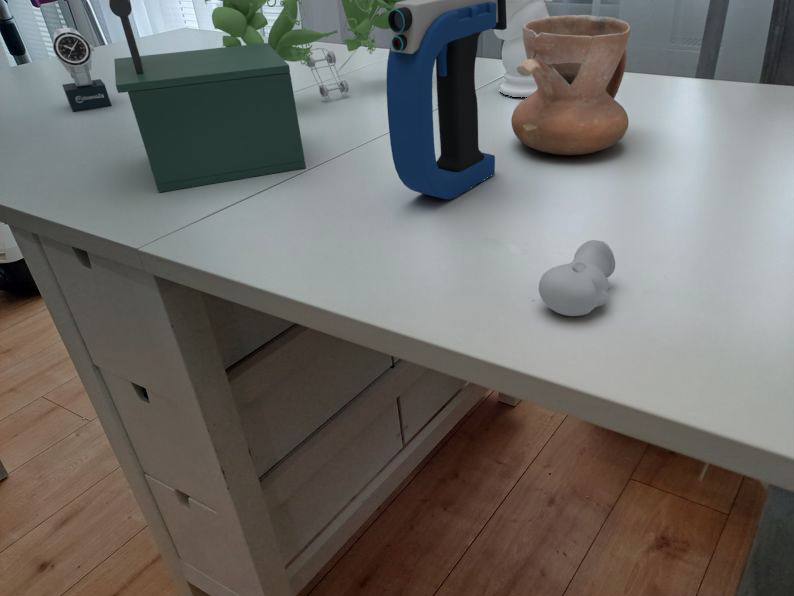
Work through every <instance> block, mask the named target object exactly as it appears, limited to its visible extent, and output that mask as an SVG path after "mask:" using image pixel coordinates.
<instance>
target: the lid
mask: <svg viewBox="0 0 794 596" xmlns="http://www.w3.org/2000/svg"><path fill="white" fill-rule="evenodd" d="M108 6H109V9H110V11H111V13H112V14H114V15H115V16H116V17H119V19H120V21H121V25H122V29H123V32H124V35H125V40H126V43H127V46H128V50H129V52H130V56H128V57H117V58H114V59H113V60H114V78H115V79H114V80H115V81H114V82H115V87H116V91H117V93H118V94H122V93H128V92H131V91H139V90H147V89H156V88H164V87H173V86H181V85H189V84H198V83H206V82H215V81H223V80H231V79H240V78H248V77H256V76H265V75H273V74H282V73H290V74H291V69H290V64H289V63H287V61H285V60H283V59H282V58H281V57H280V56H279V55H278V54H277V53H276V52H275V51H274V50H273V49H272V48H271V47H270V46H269V45H268V42H264V43H261V44H252V45H246V44H243V45H242V46H232V47H225V46H223V47H214V48H204V49H195V50H185V51H177V52H176V51H174V52H167V53H166V52H165V53H157V54H146V55H140V52H139V48H138V45H137V41H136V39H135V35H134V31H133V28H132V24H131V20H130V18H129V16H130V15H131V13H132V2H131V0H109V1H108Z"/></svg>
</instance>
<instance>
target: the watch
mask: <svg viewBox="0 0 794 596" xmlns="http://www.w3.org/2000/svg"><path fill="white" fill-rule="evenodd" d="M54 30H55V31H54V32H53V41H52V50H53V54H54V55H55V56H56V58H57V60H58V61H59V62H60V63H61V64H62V66H63V67H64V68H65V70H66V71H67V72H68V74H69V75H70V77H71V79H73V82H70V83H64V84H62V88H63V91H64V94H65V96H66V99H67V102H68V105H69V107H70V109H71V110H72V113H74V112H80V111H81V112H82V111H86V110H94V109H99V108H106V107H111V106H112V102H111V99H110V96H109V93H108V90H107V86H106V85H105V83H104V81H102V79H100V78H99V79H92V75H91V73H90V71H92V53H93V52H95V48H94V46H93V45H91V44H90V43H89V42H88V40H87V39H86V38H85V37H84V36H82V34H81V33H80V32H79V30H77V29H74V27H63V28H55V29H54Z"/></svg>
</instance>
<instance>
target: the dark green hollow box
mask: <svg viewBox="0 0 794 596" xmlns="http://www.w3.org/2000/svg"><path fill="white" fill-rule="evenodd" d="M127 95H128V98H129V101H130V104H131V107H132V111H133V114H134V118H135V120H136V124H137V128H138V130H139V132H140V137H141V140H142V143H143V146H144V150H145V153H146V156H147V159H148V162H149V166H150V169H151V172H152V176H153V178H154V182H155V186H156V188H157V192H158V193H164V192H171V191H176V190H182V189H183V190H184V189H188V188H194V187H200V186H201V187H202V186H207V185H211V184H219V183H225V182H230V181H237V180H242V179H243V180H244V179H249V178H255V177H260V176H261V177H262V176H266V175H272V174H279V173H284V172H290V171H295V170H303V169H306V168H307V166H306V161H305V153H304V147H303V143H302V142H303V141H302V135H301V129H300V123H299V118H298V112H297V106H296V101H295V94H294V86H293V81H292V76H291V72H290V73H282V74H273V75H265V76H256V77H248V78H240V79H231V80H223V81H215V82H206V83H198V84H189V85H181V86H173V87H164V88H156V89H147V90H139V91H131V92H127Z"/></svg>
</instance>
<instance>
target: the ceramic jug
mask: <svg viewBox="0 0 794 596" xmlns="http://www.w3.org/2000/svg"><path fill="white" fill-rule="evenodd" d="M549 16H550V17H546V18H545V17H544V18H538V19H534V20H531V21H529V22H526V23H525V24H524V25H523V41H524V47H525V51H526V56H527V60H525V61H523V62H522V63H521V64H519V65H518V67H517V71H518V73H519V74H520V75H521V76H529V75H531V74H532V75H533V77H534V80H535V82H536V84H537V90H536V91H535V92H534V93H533V94H531V95H530V96H529V97H527V98H523V99H522V101H520V102H519V103H518V104H517V106H515V108H514V110H513V112H512V115H511V119H510V120H511V123H510V124H511V128H512V132H513V133H514V135H515V136H516V139H518V141H520V142H521V143H522V144H524V145H526V146H527V147H529V148H531V149H533V150H536V151H539V152H542V153H546V154H551V155H559V156H579V155H587V154H592V153H597V152H600V151H603V150H606V149H607V148H608V149H609V148H610V147H612V146H613V145H615V144H617V143H618V142H619V141H621V140H622V138H623V137H624V136H625V134H626V133H627V130H628V128H629V117H628V114H627V111H626V109H625V108H624V107H623V105H621V104H620V103H619V102H618V101H617V100H616V99H615V98H616V96H617V94H618V92H619V89H620V87H621V83H622V81H623V77H624V74H625V71H626V67H627V66H626V65H627V60H628V59H627V55H628V54H627V49H626V47H627V45H628V44H627V43H628V40H629V37H630V33H631V26H630V24H629V23H628V22H627V21H626V20H625V21H624V20H623V19H618V18H617V17H612V16H606V15H601V16H600V15H599V16H597V15H596V16H595V15H591V14H579V15H575V14H571V15H570V14H569V15H568V14H567V15H552V16H551V15H549Z"/></svg>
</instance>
